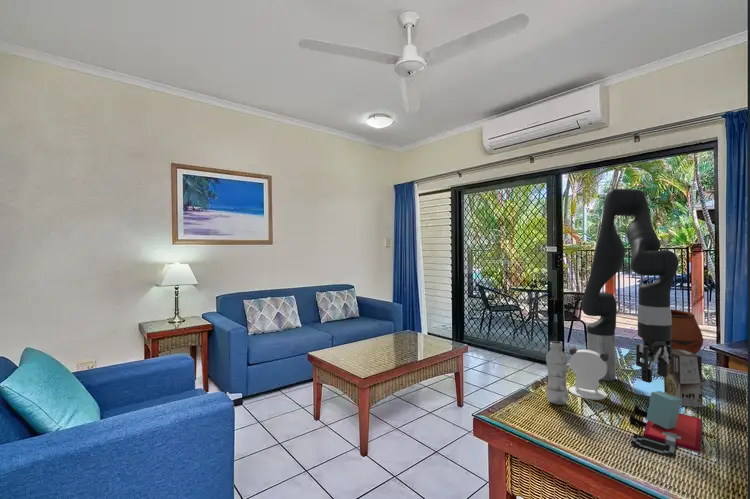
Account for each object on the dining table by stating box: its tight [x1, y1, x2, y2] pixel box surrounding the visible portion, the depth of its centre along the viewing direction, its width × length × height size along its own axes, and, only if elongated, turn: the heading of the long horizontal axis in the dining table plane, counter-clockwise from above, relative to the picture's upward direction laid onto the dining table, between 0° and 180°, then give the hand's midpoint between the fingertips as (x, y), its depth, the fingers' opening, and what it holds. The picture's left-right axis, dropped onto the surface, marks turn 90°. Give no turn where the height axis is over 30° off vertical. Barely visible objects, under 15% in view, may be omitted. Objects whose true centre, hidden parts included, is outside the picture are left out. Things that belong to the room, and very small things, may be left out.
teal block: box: [646, 390, 681, 429], centre depth 99 cm, size 5×5×8 cm
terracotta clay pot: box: [641, 309, 704, 355], centre depth 141 cm, size 19×19×25 cm
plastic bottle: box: [545, 340, 569, 406], centre depth 116 cm, size 6×7×20 cm
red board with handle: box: [629, 404, 702, 457], centre depth 98 cm, size 30×3×15 cm
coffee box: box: [663, 349, 704, 408], centre depth 116 cm, size 9×6×16 cm
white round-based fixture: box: [568, 346, 609, 401], centre depth 124 cm, size 12×11×15 cm
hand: (654, 378), depth 99 cm, fingers open, 8 cm apart
